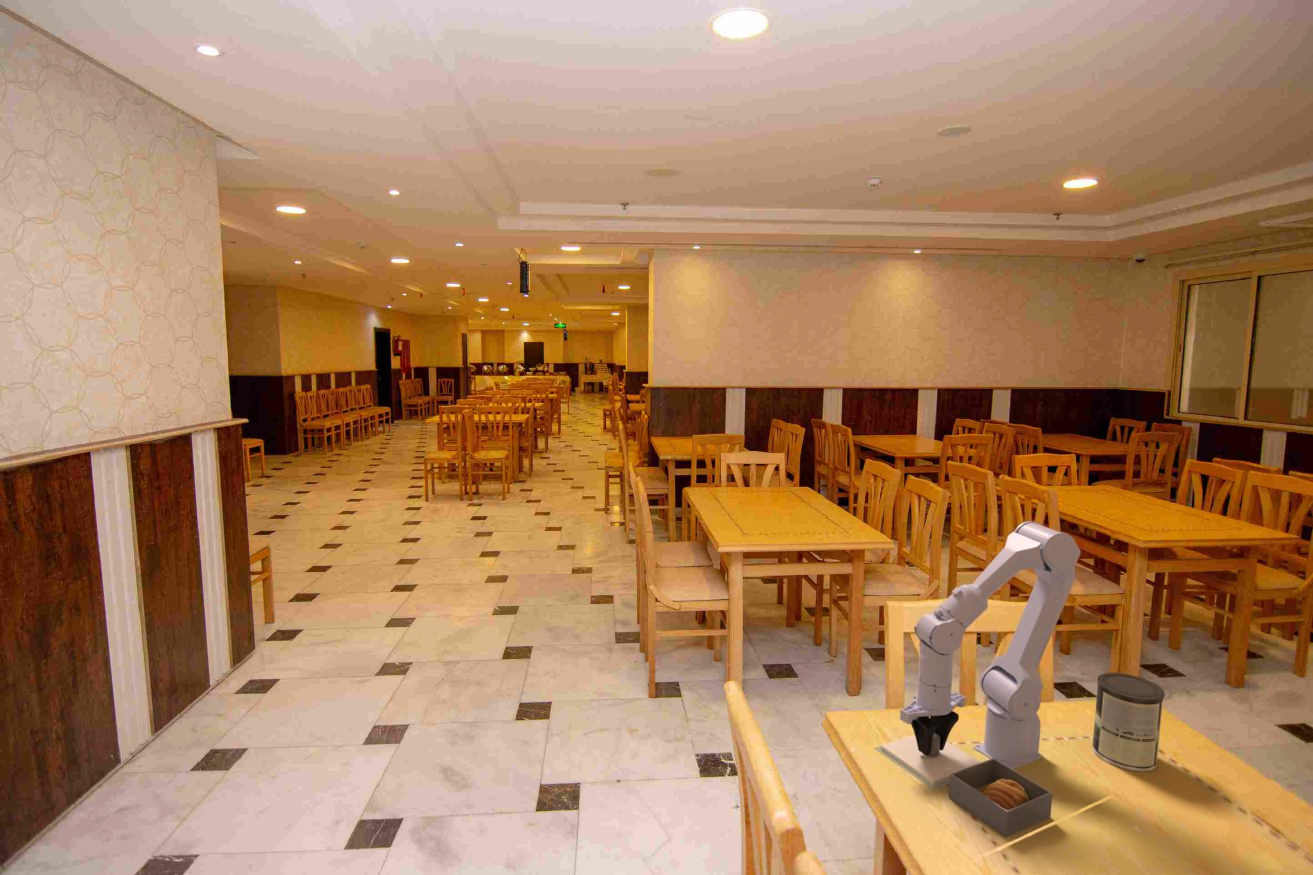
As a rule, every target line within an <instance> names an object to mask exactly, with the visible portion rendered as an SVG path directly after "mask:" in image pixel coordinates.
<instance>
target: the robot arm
mask: <svg viewBox="0 0 1313 875" xmlns="http://www.w3.org/2000/svg"><path fill="white" fill-rule="evenodd" d="M1080 555H1081V550H1080V547H1079V546H1078V544H1077V542H1076V541H1075V539H1074V538H1073V536H1071V535H1070V534H1068V533H1065V532H1060V531H1058V530H1055V529H1052V528H1049V527H1046V526H1045V525H1042V524H1039V523H1038V522H1035V521H1024V522H1022V523H1020V524H1019V525H1018V526H1016V528H1015V529H1014V531H1013V532H1011V533H1010V534H1009V535H1007V538H1006V541H1005V546H1004V547H1003V548H1002V550H1001V551H999V553H998V554H997V555H996V556H995V557H994V558H993V560H992V561H991V562H990V563H989V564H988V565H987V566H986V568H985V569H984V570H983V571H982V572H981V574H980V575H978V577H977V578H976V579H975V580H974V581H973V582H972V583H969V584H961V585H959V587H957V586H956V587H954V589H952V591H951V595H949V596H948V597H947V598H946V599H945V600H944V601H943V602H942V603H941V604H940V605H939V606H938V607H936V608H935V609H934V610H933V612H929V613H926V614H924V615H922V616H921V617H920V618H919V619H918V621H917V623H916V625H914V627H913V631H914V634H915V635H916V638H918V640H919V646H918V647H919V654H918V655H919V656H918V672H917V676H918V677H917V693H915V694H913V700H912V702H910V703H909V704H908V705H906V706H905V707H903V708H900V711H899V712H900V713H899V719H900V720H901V721H902V722H903V723H905V724H907V725H911V727H912V730H913V734H915V737H916V741H917V746H918V750H919V751H920V752H922V753H923V754H925V755H929V754H930V752H931V746H932V739H933V735H934V733H937V734H938V735H939V736H940V751H941V750H943V749H944V746H945V744H946V741H947V742H948V738H949V735H950V733H951V731H952V729H953V728H954V726H955V725H956V724H957V722H958V721H959V720H960V719H959V718H960V716H959V714H958V713H957V712H955V711H953V710H954V709H955V708H957V707H959V708H965V705H966V696H964V695H963V694H961V693H959V692H953V693H952V688H953V687H952V684H953V668H954V653H955V651H956V650H958V649H959V648H960V646H961V645H962V642H963V636H964V635H965V634H966V630H967V629H968V628H969V627H970V626H971V625H972V624H973V623H974V622H975V621H976V620H977V619H978V618H979V617H980V616H981V615H982V614H984V612H985V611H986V610H987V609H988V606H989V605H988V604H989V603H988V601H989V600H988V599H989V597H991V596H992V595H993V594H995V593H996V592H997V591H998V590H999V589H1001V587H1002V586H1004V585H1005V584H1006V583H1008V581H1009V580H1011V579H1012V578H1013V577H1014V576H1015V575H1017V574H1019V572H1020V571H1024V570H1033V571H1034V573H1035V575H1036V581H1035V584H1034V586H1033V589H1032V591H1031V593H1030V595H1029V598H1028V600H1027V602H1026V605H1025V608H1023V612H1022V615H1021V617H1020V619H1019V621H1018V624H1017V626H1016V629H1015V631H1014V634H1013V635H1012V638H1011V641H1010V643H1009V644H1008V648H1007V651H1006V652H1005V654H1002V655H998V656H996V657H993V659H992V662H991V664H990V665H989V666H988V667H987V668H986V669H985V670H984V671H983V672H982V674H981V677H980V679H979V686H980V687H979V688H980V689H981V691H982V692H983V694H984V695H985V702H986V711H985V712H986V713H985V725H984V726H985V729H984V742H981V743H978V744H977V745H974V746H972V748H973V750H976V751H977V752H978V753H980V754H981V755H984V756H985V757H987V758H988V759H992V758H994V759H996V760H998V761H1000V762H1001V763H1003V764H1005V765H1006V766H1008V767H1010V768H1011V769H1013V770H1015V769H1017V768H1019V767H1022V766H1024V765H1027V764H1030V763H1033V762H1035V761H1037V760H1040V759H1043V758H1044V756H1043V754H1041V753H1040V752H1039V751H1040V736H1041V719H1040V718H1039V715H1038V712H1039V710H1040V707H1041V701H1042V700H1041V694H1042V691H1043V688H1044V683H1043V680H1042V678H1041V676H1040V673H1039V671H1038V668H1039V666H1040V663H1041V660H1042V658H1043V655H1044V653H1045V651H1046V649H1047V646H1048V643H1049V642H1050V639H1051V637H1052V634H1053V633H1054V630H1055V628H1056V625H1057V622H1058V620H1059V618H1060V616H1061V613H1062V611H1063V609H1064V606H1065V604H1066V602H1067V600H1068V597H1069V594H1070V593H1071V590H1072V587H1073V585H1074V583H1075V579H1076V578H1075V576H1076V575H1075V574H1076V573H1075V572H1076V565H1077V563H1078V560H1079V558H1080Z"/></svg>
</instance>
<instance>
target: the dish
mask: <svg viewBox="0 0 1313 875" xmlns="http://www.w3.org/2000/svg"><path fill="white" fill-rule="evenodd" d="M980 762H981V763H979V764H976V765H973V766H971V767H968V768H965V769H963V770H960V771H957V772H955V773H952V774H950V782H949V784H948V785H949V786H948V799H950V800H951V801H953V802H954V803H955V804H957V805H958V806H960V807H961V808H962V809H964V810H965V811H967V812H968V813H969V814H971V815H973V816H974V817H976V818H977V819H978V820H980V822H982V823H984V824H986V825H987V826H989V827H990V828H991V829H992V830H995V832H997V833H998V834H1000V835H1002V836H1003V837H1005V838H1008V837H1010V836H1013V835H1015V834H1017V833H1019V832H1021V831H1024V830H1025V829H1026V830H1027V829H1028V828H1030V827H1032V826H1035V825H1037V824H1040V823H1041V822H1044V821H1046V820H1048V819H1049V818H1051V815H1052V804H1053V792H1052V791H1050V790H1048V789H1047V788H1045V787H1043V786H1042V785H1040V784H1039V783H1037V782H1035V781H1033V780H1031V779H1029V778H1028V777H1027V776H1025V775H1023V774H1021V773H1020V772H1018V771H1016V770H1015V769H1011V768H1010V767H1008V766H1006V765H1005V764H1003V763H1001V762H1000V761H998V760H996V759H994V758H992V759H990V758H988V759H987V760H984V761H980ZM1002 778H1003V779H1005V780H1013V781H1015V782H1016V783H1018V784H1020V785H1021V786H1022V787H1023V788H1024V789H1025V792H1026V794H1027V795H1028V797H1029V800H1030V801H1028V802H1026V803H1024V804H1021V805H1019V806H1017V807H1014V808H1012V809H1010V810H1006V809H1004V808H1003V807H1001V806H1000V805H998V804H997V803H995V802H994V801H992V800H990V799H989V798H987V797H986V796H984V795H983V794H981V792H980V791H978V790H977V789H979V788H980V787H983V786H987V785H989V784H992V783H995V782H996V781H997V780H1001V779H1002Z"/></svg>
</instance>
